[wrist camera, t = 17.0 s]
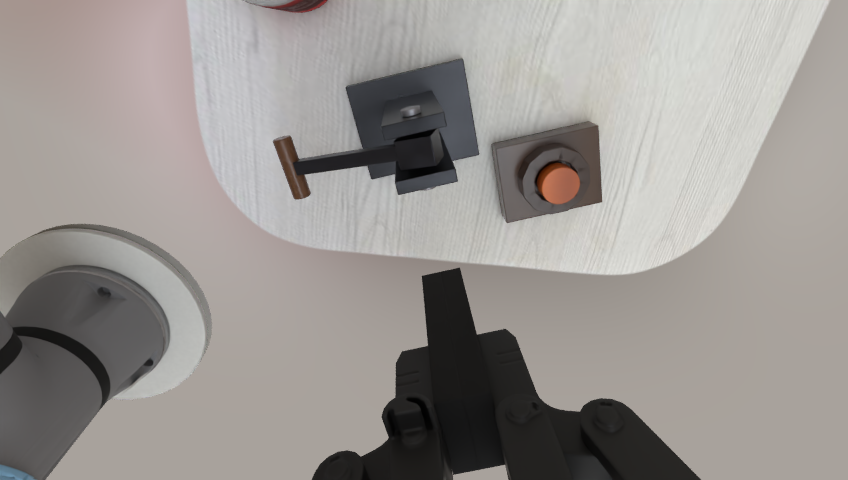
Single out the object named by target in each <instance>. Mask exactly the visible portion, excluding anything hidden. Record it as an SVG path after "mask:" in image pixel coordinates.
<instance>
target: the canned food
mask: <svg viewBox="0 0 848 480" xmlns="http://www.w3.org/2000/svg"><path fill="white" fill-rule="evenodd" d="M243 1H245V2H248V3H250V4H254V5H258V6H262V7H266V8H272V9H277V10H283V11H289V12H301V13H303V12H308V11H312V10H314V9H316V8H319V7H320V6H321V5H323V4H324V3H325V2H326V1H327V0H243Z"/></svg>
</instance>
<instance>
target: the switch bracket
mask: <svg viewBox="0 0 848 480" xmlns="http://www.w3.org/2000/svg"><path fill="white" fill-rule="evenodd" d="M346 90H347V94H348V97H349V101H350V105H351V108H352V112H353V115H354V119H355V122H356V126H357V129H358V133H359V136H360V140H361V144H362V147H363V149H365V148H372V147H378V146H384V145H391V144H394V141H395V140H396V139H397V138H399V137H403V136H408V135H412V134H416V133H420V132H425V131H429V130H433V129H439V134H440V139H441V144H442V149H443V153H444V156H443V158H442V159H441V160H440V162H439V163H438V165H437V166H432V167H425V168H417V169H410V170H403V171H401V170H400V166H399V162H398V161H395V162H388V163H381V164H375V165H368V168H369V172H370V175H371V179H375V178H380V177H384V176H388V175H393V174H395V184H396V188H397V192H398V195H400V194H405V193H409V192H414V191H418V190H430V189H433V188H435V187H436V186H440V185H445V184H449V183H453V182H457V181H458V180H457V175H456V169H455V167H454V164H453V162H452V161H454V160H458V159H463V158H467V157H471V156H476V155H479V150H478V145H477V139H476V133H475V127H474V121H473V115H472V109H471V103H470V97H469V91H468V85H467V79H466V74H465V68H464V62H463V59H457V60H453V61H449V62H445V63H441V64H437V65H432V66H428V67H424V68H420V69H416V70H411V71H407V72H403V73H399V74H395V75H391V76H386V77H382V78H378V79H374V80H370V81H366V82H361V83H357V84H353V85H349V86H347V87H346Z"/></svg>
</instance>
